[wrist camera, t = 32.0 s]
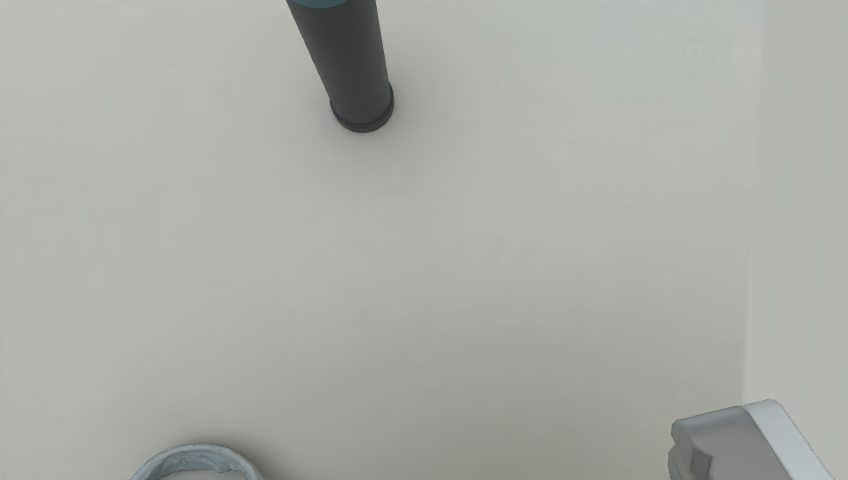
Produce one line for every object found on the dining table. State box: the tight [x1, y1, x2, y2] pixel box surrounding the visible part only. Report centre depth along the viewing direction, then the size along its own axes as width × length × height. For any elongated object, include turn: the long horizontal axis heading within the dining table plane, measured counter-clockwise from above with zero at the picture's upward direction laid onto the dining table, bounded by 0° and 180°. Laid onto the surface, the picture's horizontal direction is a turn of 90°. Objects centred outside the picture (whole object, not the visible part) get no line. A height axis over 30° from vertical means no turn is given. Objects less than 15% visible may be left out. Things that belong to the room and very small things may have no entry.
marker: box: [286, 0, 394, 133], centre depth 23 cm, size 3×3×13 cm
